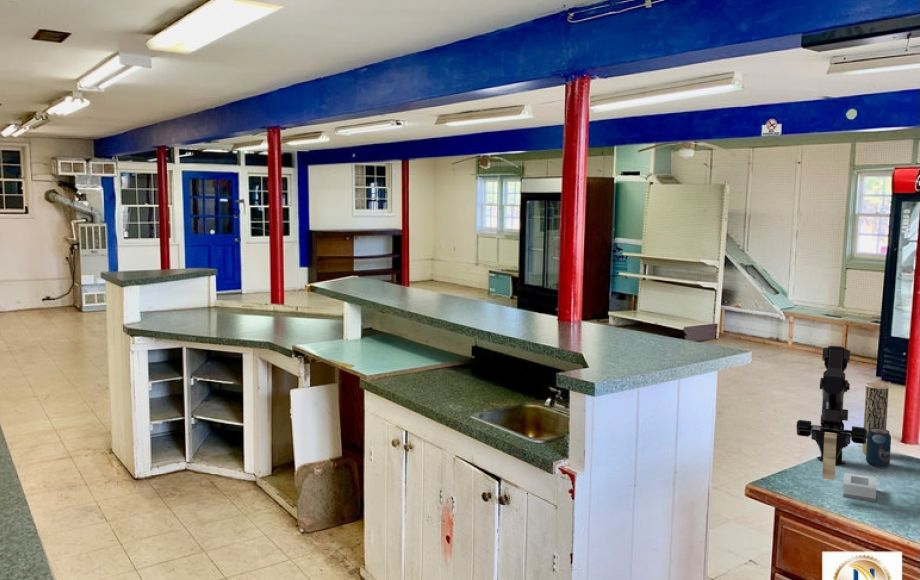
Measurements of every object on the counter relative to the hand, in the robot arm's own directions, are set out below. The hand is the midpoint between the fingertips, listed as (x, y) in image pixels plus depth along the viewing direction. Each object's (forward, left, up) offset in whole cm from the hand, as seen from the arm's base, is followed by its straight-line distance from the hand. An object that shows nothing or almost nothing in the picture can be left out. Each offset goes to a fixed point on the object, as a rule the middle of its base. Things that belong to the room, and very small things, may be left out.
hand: (829, 457), depth 207 cm
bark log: (-31, +41, -14) cm, 53 cm away
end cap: (-3, +13, -13) cm, 19 cm away
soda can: (-22, +35, -14) cm, 44 cm away
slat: (-1, +1, -7) cm, 7 cm away
